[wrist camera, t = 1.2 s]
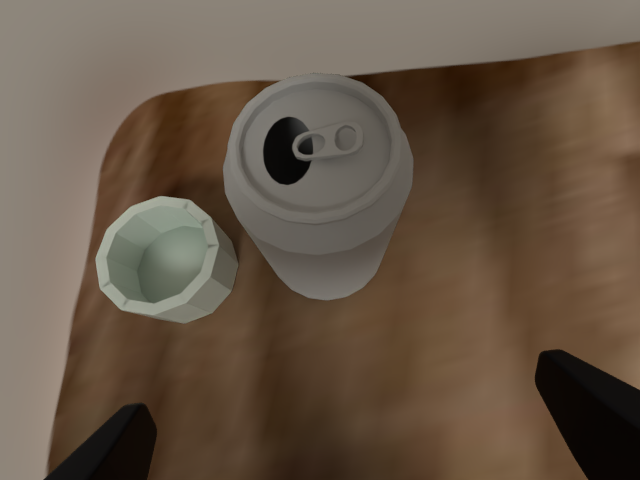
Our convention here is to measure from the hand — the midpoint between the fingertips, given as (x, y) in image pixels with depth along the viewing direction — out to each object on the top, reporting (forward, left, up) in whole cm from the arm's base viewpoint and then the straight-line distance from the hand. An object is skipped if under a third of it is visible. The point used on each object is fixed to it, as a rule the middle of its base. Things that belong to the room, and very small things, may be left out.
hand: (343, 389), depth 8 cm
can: (+8, +2, -14) cm, 16 cm away
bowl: (+5, +11, -13) cm, 18 cm away
